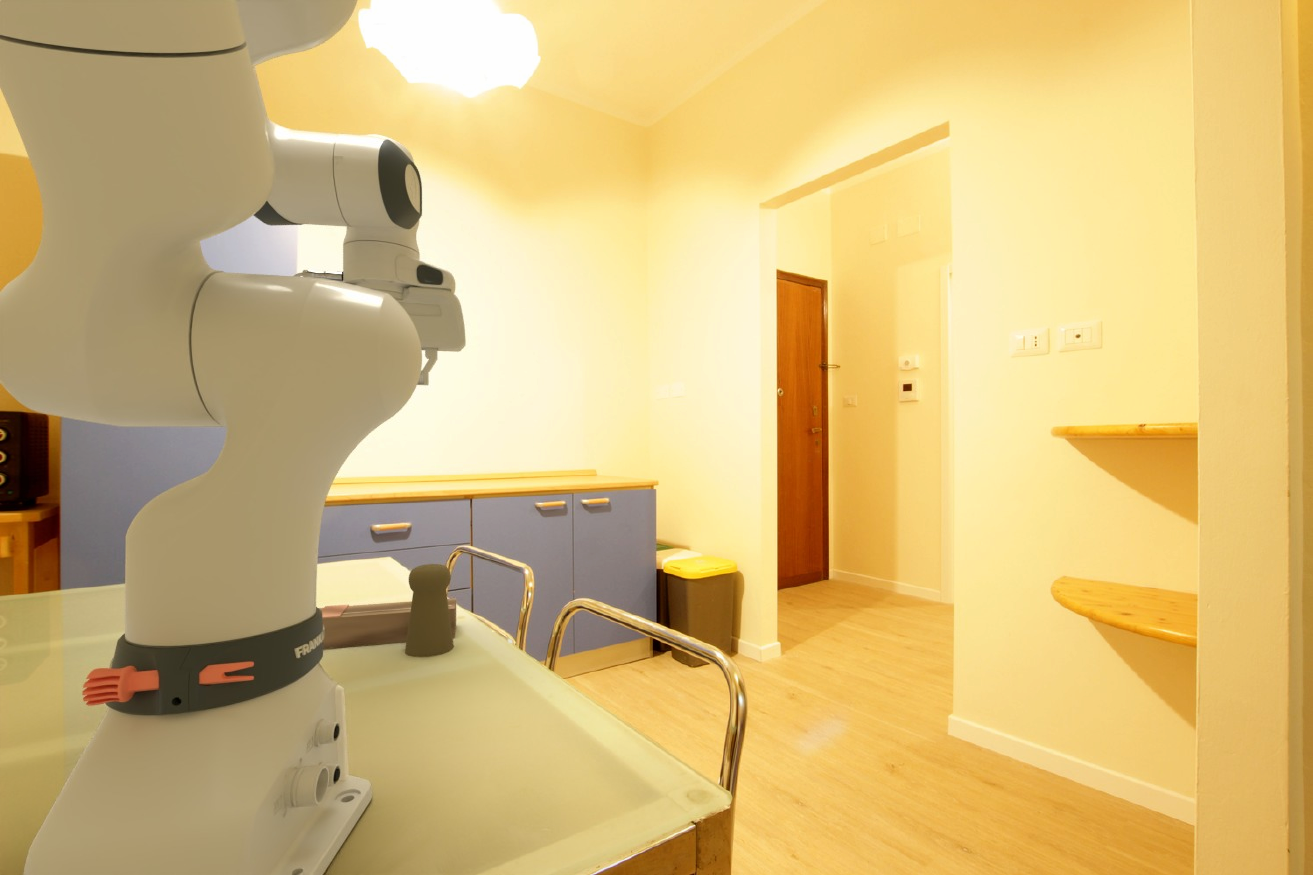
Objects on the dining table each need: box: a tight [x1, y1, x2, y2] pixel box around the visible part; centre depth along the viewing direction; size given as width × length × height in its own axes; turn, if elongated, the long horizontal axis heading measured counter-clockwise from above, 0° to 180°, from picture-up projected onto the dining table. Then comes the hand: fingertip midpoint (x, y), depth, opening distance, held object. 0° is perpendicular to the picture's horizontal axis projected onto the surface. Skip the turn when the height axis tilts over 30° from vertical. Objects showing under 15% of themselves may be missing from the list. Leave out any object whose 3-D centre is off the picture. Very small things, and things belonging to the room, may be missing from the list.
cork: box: [404, 563, 455, 658], centre depth 80 cm, size 6×6×11 cm
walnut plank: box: [318, 597, 457, 650], centre depth 84 cm, size 6×20×4 cm, turn 106°
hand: (382, 384), depth 76 cm, fingers open, 8 cm apart
